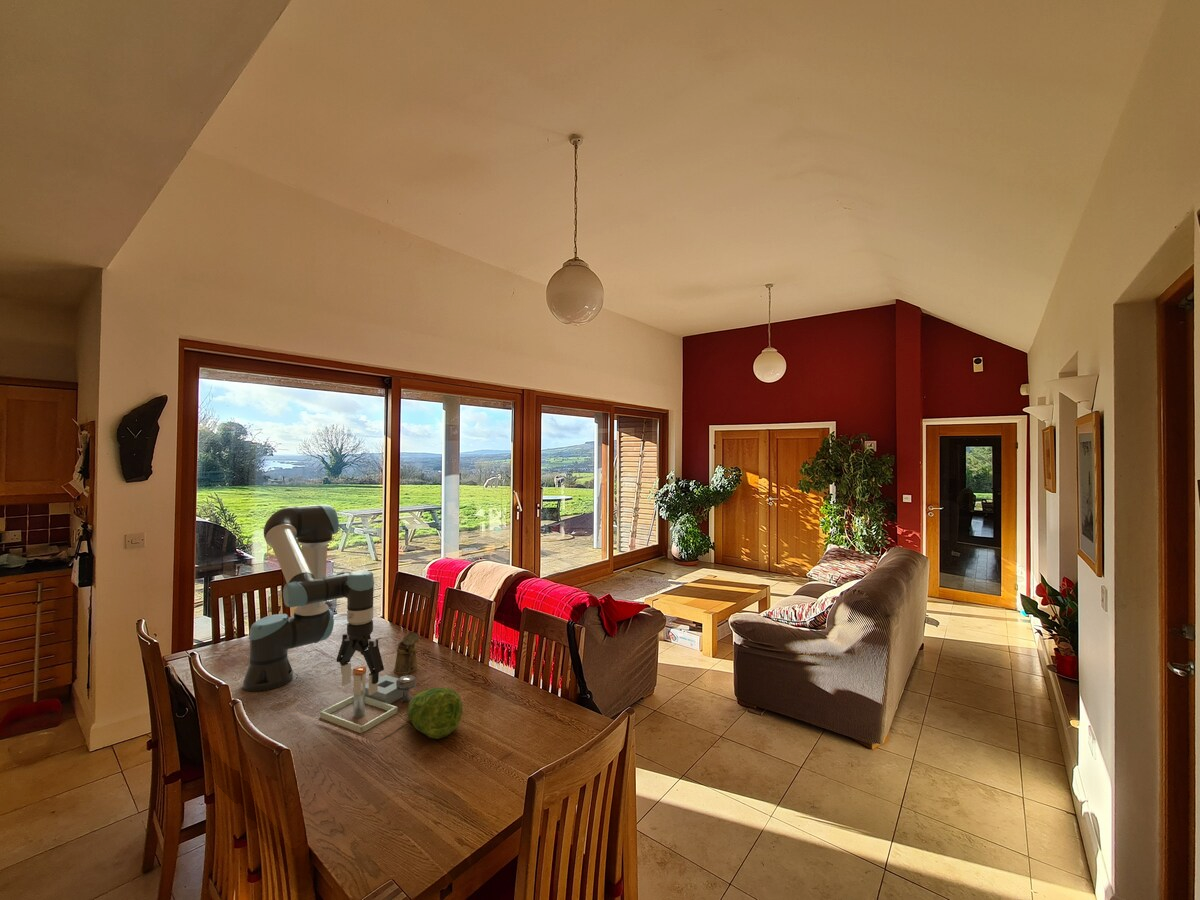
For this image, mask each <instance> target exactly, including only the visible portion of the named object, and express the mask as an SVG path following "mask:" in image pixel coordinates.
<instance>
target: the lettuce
mask: <svg viewBox="0 0 1200 900" xmlns="http://www.w3.org/2000/svg"><path fill="white" fill-rule="evenodd" d="M462 701H463V700H462V699H461V696H460V695H459V694H458V693H457V692H456V691H455V690H453V689H451V688H447V687H440V686H439V687H433V688H428V689H425V690H422V691H420V692H418V693H417V694H415V696H413V697H412V698H411V700H409V701H408V705H407V709H406V711H407V717H408V718H409V720H410V722H411V723H412V725H413V727H414V728H415V729H416V730H417V731H418V732H421V734H424V735H426V736H427V737H428V738H430V739H436V740H440V739H442V738H445V737H447V736H449V735H450V734H451V733H452V732H454V731H455V729H456V728H457V727H458V725H459V723H460V722H461V719H462V715H463V702H462Z"/></svg>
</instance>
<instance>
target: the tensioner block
mask: <svg viewBox="0 0 1200 900" xmlns="http://www.w3.org/2000/svg"><path fill="white" fill-rule="evenodd" d="M398 679H399V678H398V677H394V676H392V675H391V676H390V675H388V674H384V675H382V676H379V681H378V692H376V693H374V694H372V695H369V682H366V683H365V696H366V697H369V698H372V699H375V700H378V701H381V702H384V703H387V704H390V705H392V703H393V704H394V702H397V700H399V699H402V698H403V690H399V689H397V688H396V681H397V680H398Z"/></svg>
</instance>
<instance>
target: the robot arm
mask: <svg viewBox="0 0 1200 900" xmlns="http://www.w3.org/2000/svg"><path fill="white" fill-rule="evenodd" d="M339 528H340V521H339V517H338V513H337V511H336V508H334V507H333V506H332V505H330V504H312V505H310V504H309V505H297V506H286V507H283V508H280V509H278V510H277V511H275V512H274V513H272V514H271V515H270V517H269V518H268V519H267V520H266V522H265V525H264V527H263V537H264V540H265V542H266V544H267V545H268V546H269V547H271V548H272V549H273V553H274V555H275V557H276V560H277V562H278V564H279V567H280V570H281V572H282V574H283V576H284V579H285V582H286V583H285V585H284V586H283V589H282V597H283V603H284V605H285V607H287V608H295V609H294V610H293V615H292V616H289V615H288V614H287V613H278V614H277V613H274V614H271V615H267V616H264V617H262V618H260V619H258V620H256V621H254V622H253V624H251V626H250V629H249V637H248V638H249V665H248V667H247V669H246V670H247V671H246V673H245V675H244V679H243V681H242V686H243V687H242V689H243V690H245V691H247V692H265V691H269V690H273V689H278V688H279V687H282V686H284V685H287V683H289V682H291V681H292V680H293V674H294V670H293V667H292V666H291V663H290V659H289V657H288V650H291V649H295V648H299V647H303V646H309V645H311V644H319V642H323V641H325V640H328V639H329V637H330V636H331V635H332V632H333V630H334V626H335V625H334V624H335V618H334V612H333V610H332V609H330V608H329V605H328V604H327V603H325V602H327V601H332V600H333V601H334V600H338V599H343V598H345V599H346V600H347V601H346V603H347V604H346V607H347V614H346V615H347V617H346V618H347V619H346V621H347V624H346V633H344V634H342V637H341V638H342V641H341V644H340V647H339V650H338V653H337V656H336V662H337V663H339V665H340V666H341V667H340V668H341V669H340V670H341V671H340V672H341V686H342V687H346V686H347V685H349V684H351V683H352V663H351V659H352V657H353V656H354V654H355V653H356V652H359V653H360V655H362V656H363V658H364V661H365V662H366V664H367V667H368V669H369V671H370V673H368V683H369V695H372V694H374V693H376V692H378V681H379V677H380V675H379V673H381V672H383V671H385V667H384V663H383V660H382V659H383V658H382V655H381V652H380V647H379V639H378V638H374V639H372V638H371V634H372V632H373V631H374V592H375V591H374V589H375V588H374V587H375V586H374V585H375V581H374V573H373V572H372V571H370V570H358V571H357V570H356V571H353V572H350V571H345V570H344V571H340V572H338V573H336V574H335V575H330V576H327V559H328V558H327V557H328V544H329V543H330V542H332V540H333V535H335V534H337V533H338V532H339Z"/></svg>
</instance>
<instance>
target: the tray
mask: <svg viewBox="0 0 1200 900" xmlns="http://www.w3.org/2000/svg"><path fill="white" fill-rule="evenodd" d="M353 696H354V694H353V695H352V696H350V697H347V698H345V699H343V700H342V701H341V700H340V701H339V702H337V703H335V704H333V705H331V706H329V707H327V708H325V709H323V710H321V711H320V712H319V714H320V715H319V717H320V719H323V720H320V719H319V720H320V722H322V723H325V724H328V725H330V726H333V727H336V728H338V729H341V730H344V731H345V732H349V733H352V734H353V735H356V736H360V737H361V738H362V737H363V736H362V735H360V734H363V733H364V732H366V731H368V730H370V729H372V728H373V727H375V726H377V725H378V724H381V723H382V722H384V721H385V720H387V719H389V718H391V717H392V716H394V715H396V714H398V706H396V705H393V704H387V703H384V702H381V701H378V700H375V699H372V698H369V697H366V696H365V705H370V706H372V707H375V708H378V709H381V710H385V711H386V712H384V713H382V714H381V715H378V716H377V717H375V718H374V719H371V720H369V721H367V722H366V723H365V724H358V723H355V722H353V721H350V720H347V719H344V718H343V717H339V716H337V715H334V714H332V713H335V712H336V711H339V710H340V709H342V708H344V707H346V706H349V705H351V704H353ZM324 720H325V721H324ZM326 721H328V722H331V723H333V724H331V723H328V722H326ZM334 724H335V725H334ZM337 725H339V726H341V727H344V728H346V729H344V728H341V727H338V726H337ZM347 729H348V730H347ZM349 730H352V731H354V732H352V731H349ZM355 732H356V733H355ZM357 733H359V734H357Z"/></svg>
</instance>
